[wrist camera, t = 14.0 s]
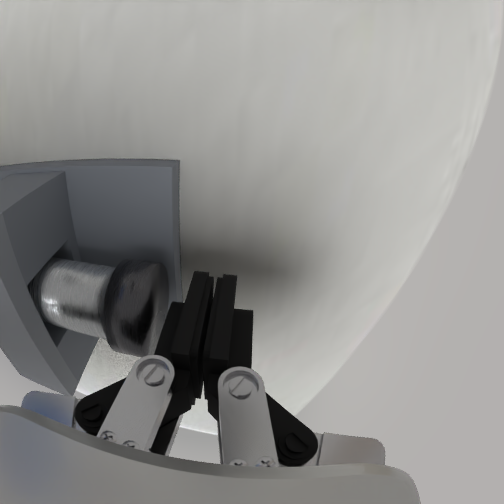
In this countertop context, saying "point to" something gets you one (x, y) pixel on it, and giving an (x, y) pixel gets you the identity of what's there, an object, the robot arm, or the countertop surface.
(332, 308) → the countertop surface
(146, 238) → the grey u-shaped stand
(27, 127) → the countertop surface
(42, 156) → the countertop surface
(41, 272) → the shaft
